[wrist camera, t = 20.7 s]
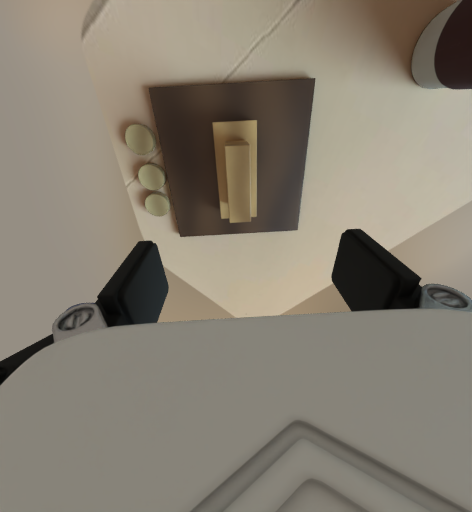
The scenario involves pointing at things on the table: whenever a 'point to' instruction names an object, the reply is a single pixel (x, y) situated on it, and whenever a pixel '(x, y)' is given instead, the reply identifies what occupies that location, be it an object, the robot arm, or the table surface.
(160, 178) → the disc
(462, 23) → the coffee cup
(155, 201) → the token
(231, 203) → the brush
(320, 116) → the table surface
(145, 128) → the token
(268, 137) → the tray
